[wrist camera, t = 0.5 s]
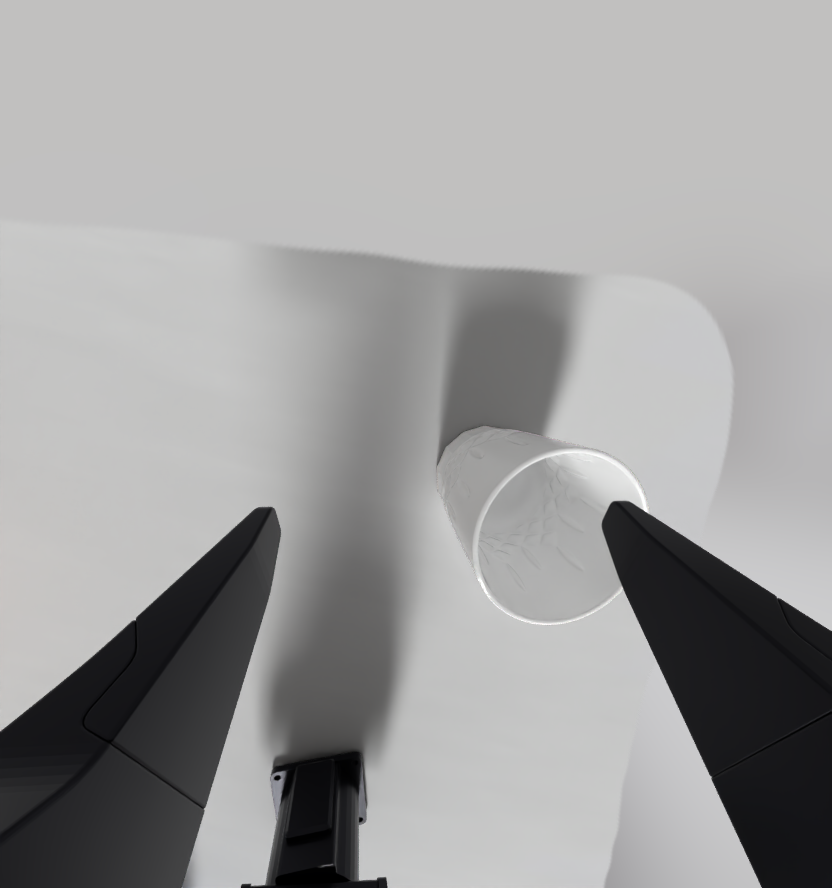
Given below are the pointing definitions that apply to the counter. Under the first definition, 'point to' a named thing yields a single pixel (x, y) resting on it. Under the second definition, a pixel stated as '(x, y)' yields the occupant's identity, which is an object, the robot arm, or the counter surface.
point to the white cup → (535, 520)
